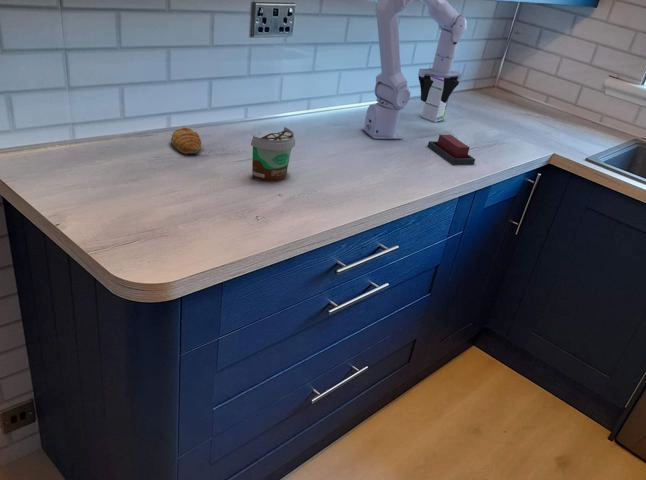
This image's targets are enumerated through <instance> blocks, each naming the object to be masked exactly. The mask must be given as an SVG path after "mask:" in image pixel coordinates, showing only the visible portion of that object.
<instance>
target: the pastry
mask: <svg viewBox="0 0 646 480" xmlns="http://www.w3.org/2000/svg"><path fill="white" fill-rule="evenodd" d="M170 142H171V144H172V146H173V147H174V148H175V149H176V150H177V151H178V152H179V153H183V154H184V155H187V154H198V153H199V151H200V149H201V148H202V140H201V138H200V134H198V132H196V131H194V130H193V129H192V128H189V127H185V126H184V127H180V128H176V129H175V130H174V131H173V133H172V135H171V138H170Z"/></svg>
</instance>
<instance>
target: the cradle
mask: <svg viewBox="0 0 646 480" xmlns="http://www.w3.org/2000/svg"><path fill="white" fill-rule="evenodd" d="M437 142H438V140H436V141H435V140H434V141H431V140H429V141H428V142H427V147H428V148H429V149H430V150H432V151H433V152H434V153H436V154H437V155H439V156H440V157H441V158H443V159H444V160H445V161H447V162H448V163H450V164H451V165H453V166H455V165H456V166H457V165H460V166H461V165H465V166H466V165H475V162H476V158H475V157H473V156H472V155H470V154H468V155H467V158H454V157H452V156H451V155H449V154H448V153H447V152H445V151H444V150H442V149H441V148H439V147H438V146H437Z"/></svg>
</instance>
